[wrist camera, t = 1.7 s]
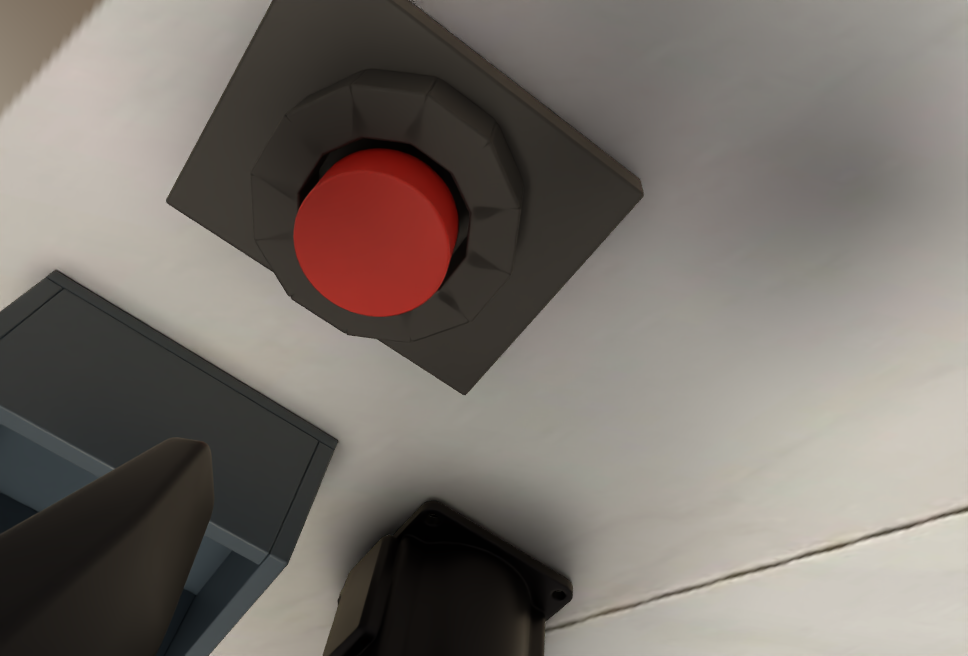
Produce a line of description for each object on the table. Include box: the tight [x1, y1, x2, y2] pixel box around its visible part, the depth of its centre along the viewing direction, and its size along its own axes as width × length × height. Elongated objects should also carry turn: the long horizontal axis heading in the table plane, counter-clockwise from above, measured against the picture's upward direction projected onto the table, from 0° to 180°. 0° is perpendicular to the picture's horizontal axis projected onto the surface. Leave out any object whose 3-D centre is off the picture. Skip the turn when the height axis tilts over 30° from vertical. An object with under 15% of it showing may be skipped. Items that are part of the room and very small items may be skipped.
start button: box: [293, 148, 459, 317], centre depth 18 cm, size 4×4×2 cm
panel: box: [166, 0, 644, 395], centre depth 20 cm, size 10×8×3 cm
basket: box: [0, 271, 338, 656], centre depth 25 cm, size 10×10×6 cm
